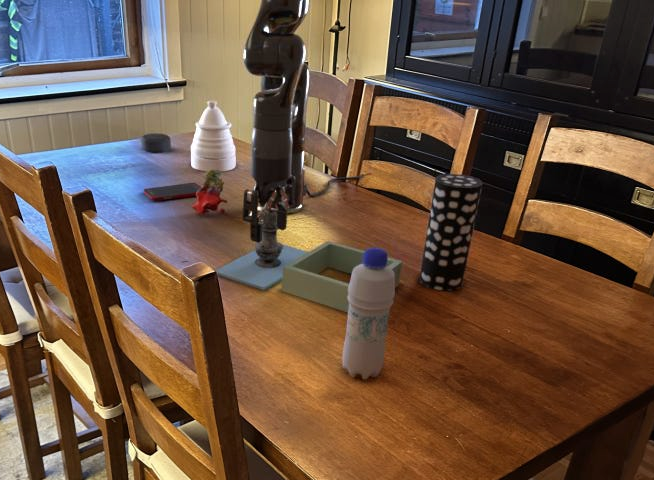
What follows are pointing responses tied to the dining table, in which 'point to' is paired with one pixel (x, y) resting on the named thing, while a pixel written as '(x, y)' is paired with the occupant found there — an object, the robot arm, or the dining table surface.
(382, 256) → the bottle
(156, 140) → the smart speaker
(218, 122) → the honey pot
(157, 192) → the cell phone
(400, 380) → the dining table surface
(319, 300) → the green rectangular frame
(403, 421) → the dining table surface
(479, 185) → the spotted tube
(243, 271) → the drying mat
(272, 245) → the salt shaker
